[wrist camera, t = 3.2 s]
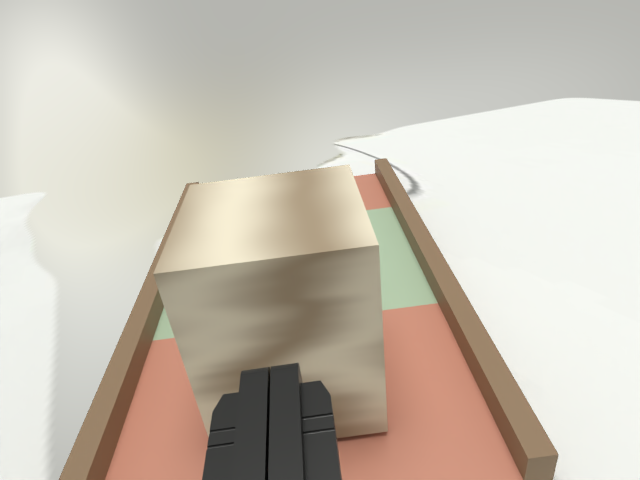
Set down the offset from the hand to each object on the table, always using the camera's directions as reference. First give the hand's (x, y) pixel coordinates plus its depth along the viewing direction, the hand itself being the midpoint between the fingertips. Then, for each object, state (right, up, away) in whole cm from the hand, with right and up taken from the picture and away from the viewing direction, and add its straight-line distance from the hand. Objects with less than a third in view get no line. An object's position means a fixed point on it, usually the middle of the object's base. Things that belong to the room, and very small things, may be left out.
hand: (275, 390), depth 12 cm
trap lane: (-1, +1, +22) cm, 22 cm away
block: (0, -4, +13) cm, 14 cm away
